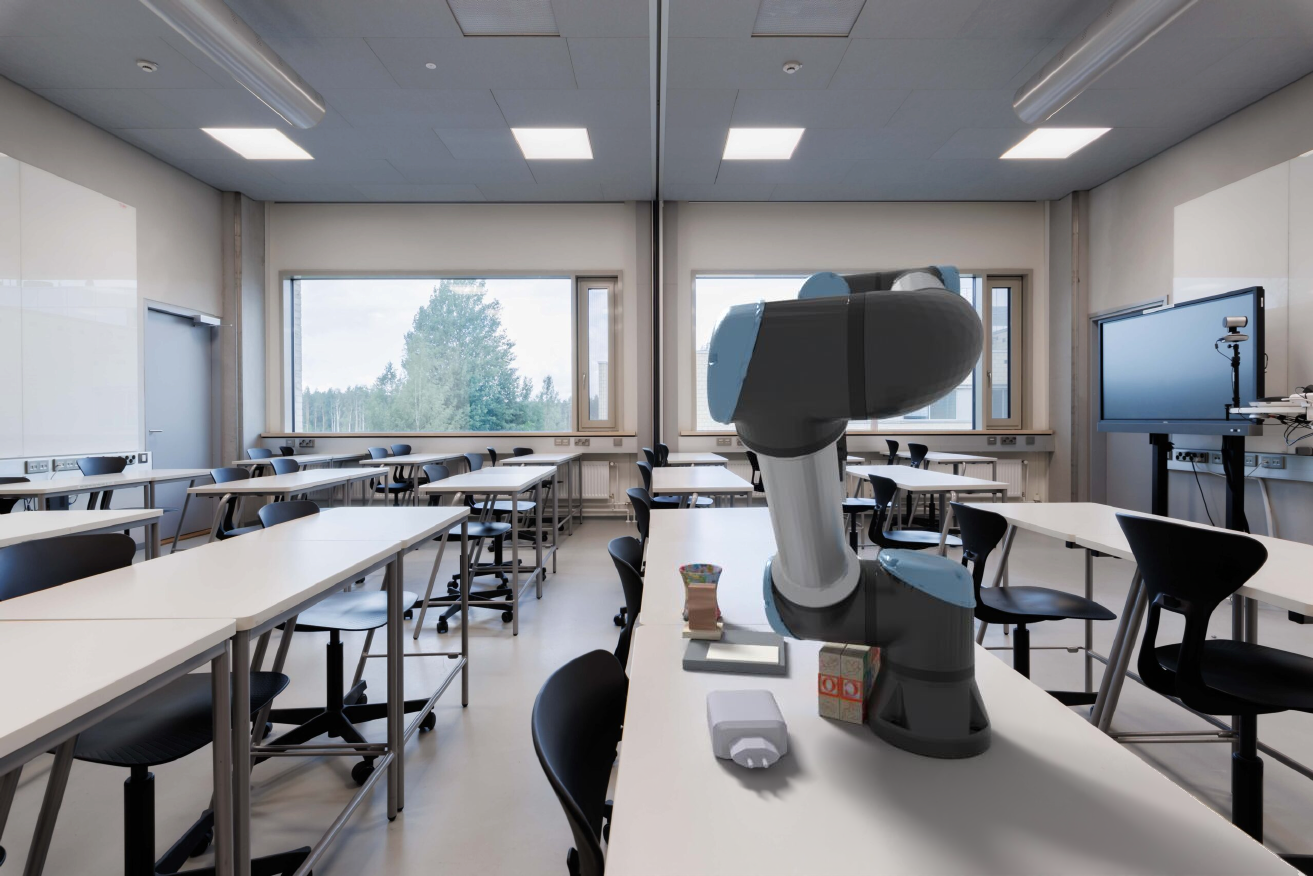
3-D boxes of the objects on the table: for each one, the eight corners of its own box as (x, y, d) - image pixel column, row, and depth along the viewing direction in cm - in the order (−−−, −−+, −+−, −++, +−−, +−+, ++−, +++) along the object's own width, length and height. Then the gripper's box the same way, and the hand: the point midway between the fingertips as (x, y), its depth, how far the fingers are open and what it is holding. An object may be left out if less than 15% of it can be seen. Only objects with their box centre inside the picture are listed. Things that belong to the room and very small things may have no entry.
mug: (726, 624, 126) (725, 573, 126) (681, 625, 125) (680, 574, 125) (718, 606, 138) (717, 560, 138) (677, 608, 137) (676, 561, 137)
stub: (720, 640, 111) (719, 590, 111) (682, 638, 113) (681, 588, 112) (723, 629, 117) (722, 581, 117) (687, 627, 119) (686, 580, 118)
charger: (719, 789, 69) (707, 724, 84) (799, 787, 69) (773, 722, 84) (718, 748, 69) (706, 690, 84) (799, 746, 69) (772, 689, 84)
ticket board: (784, 674, 100) (784, 663, 100) (682, 668, 103) (682, 657, 103) (783, 640, 115) (783, 630, 115) (695, 636, 119) (694, 626, 119)
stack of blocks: (863, 726, 83) (862, 637, 82) (817, 716, 86) (816, 630, 85) (889, 670, 101) (888, 597, 101) (850, 663, 104) (849, 592, 104)
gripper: (805, 377, 115) (806, 489, 115) (813, 365, 91) (815, 506, 91) (846, 376, 114) (848, 489, 114) (865, 363, 89) (867, 507, 89)
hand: (833, 497), depth 102 cm, fingers open, 13 cm apart
